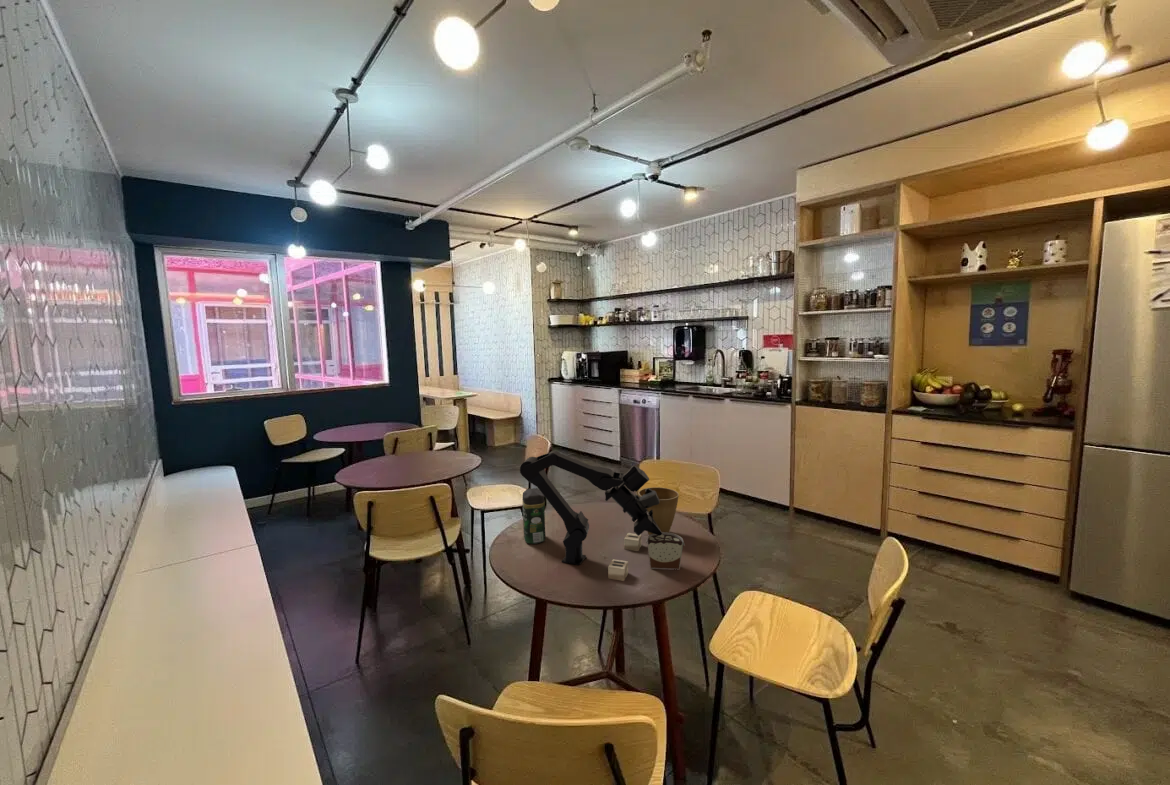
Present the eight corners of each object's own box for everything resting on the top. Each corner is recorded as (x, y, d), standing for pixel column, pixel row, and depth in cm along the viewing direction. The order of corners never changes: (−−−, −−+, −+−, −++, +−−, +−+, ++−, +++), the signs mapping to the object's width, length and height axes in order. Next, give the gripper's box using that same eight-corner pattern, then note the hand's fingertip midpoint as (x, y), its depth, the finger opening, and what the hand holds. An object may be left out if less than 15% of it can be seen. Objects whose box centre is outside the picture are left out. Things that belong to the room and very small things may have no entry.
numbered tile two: (624, 581, 144) (624, 568, 143) (608, 578, 145) (608, 566, 145) (628, 573, 148) (628, 561, 148) (612, 571, 150) (612, 558, 150)
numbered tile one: (638, 551, 164) (638, 540, 163) (624, 549, 165) (624, 538, 165) (641, 545, 168) (641, 534, 168) (627, 543, 170) (627, 532, 169)
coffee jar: (522, 535, 178) (520, 487, 176) (543, 532, 180) (541, 485, 177) (525, 546, 168) (523, 495, 166) (547, 543, 170) (546, 494, 168)
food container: (682, 560, 156) (682, 531, 155) (684, 569, 150) (684, 539, 149) (644, 559, 157) (645, 530, 156) (645, 568, 151) (645, 538, 150)
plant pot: (685, 539, 173) (686, 497, 171) (648, 544, 168) (648, 501, 166) (667, 524, 187) (667, 485, 185) (632, 528, 183) (632, 488, 181)
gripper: (644, 493, 142) (681, 529, 142) (644, 475, 161) (677, 507, 161) (618, 517, 144) (654, 553, 144) (621, 496, 162) (653, 528, 162)
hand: (661, 534), depth 153 cm, fingers closed, pressing on food container
